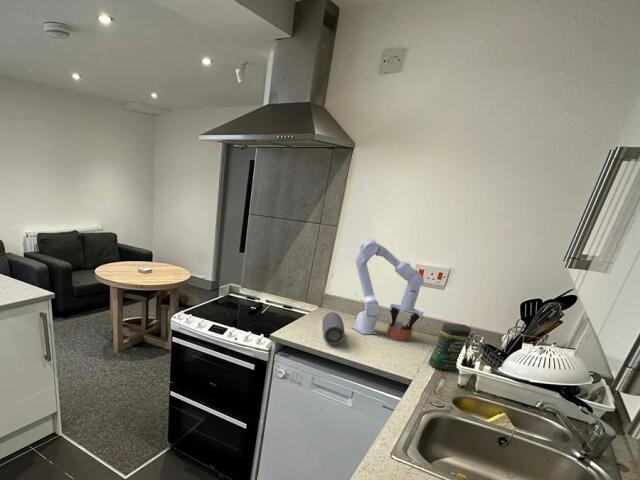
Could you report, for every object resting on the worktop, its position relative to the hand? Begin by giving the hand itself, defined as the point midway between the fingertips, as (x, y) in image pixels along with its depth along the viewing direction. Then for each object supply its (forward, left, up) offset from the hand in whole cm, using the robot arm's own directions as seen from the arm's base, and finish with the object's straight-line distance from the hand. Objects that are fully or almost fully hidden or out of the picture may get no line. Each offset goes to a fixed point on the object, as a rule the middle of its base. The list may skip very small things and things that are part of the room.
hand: (401, 326), depth 188 cm
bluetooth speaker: (+3, -37, -6) cm, 38 cm away
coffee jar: (+33, -3, -6) cm, 34 cm away
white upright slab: (0, 0, -4) cm, 4 cm away
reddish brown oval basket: (-1, +1, -6) cm, 6 cm away
